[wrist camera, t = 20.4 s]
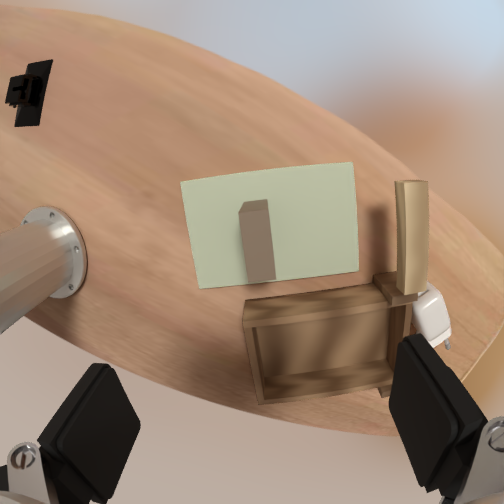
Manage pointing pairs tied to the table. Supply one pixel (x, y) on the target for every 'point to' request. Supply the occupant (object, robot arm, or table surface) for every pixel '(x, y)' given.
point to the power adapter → (431, 317)
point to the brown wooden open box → (326, 340)
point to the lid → (272, 224)
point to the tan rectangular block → (412, 235)
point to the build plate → (29, 93)
